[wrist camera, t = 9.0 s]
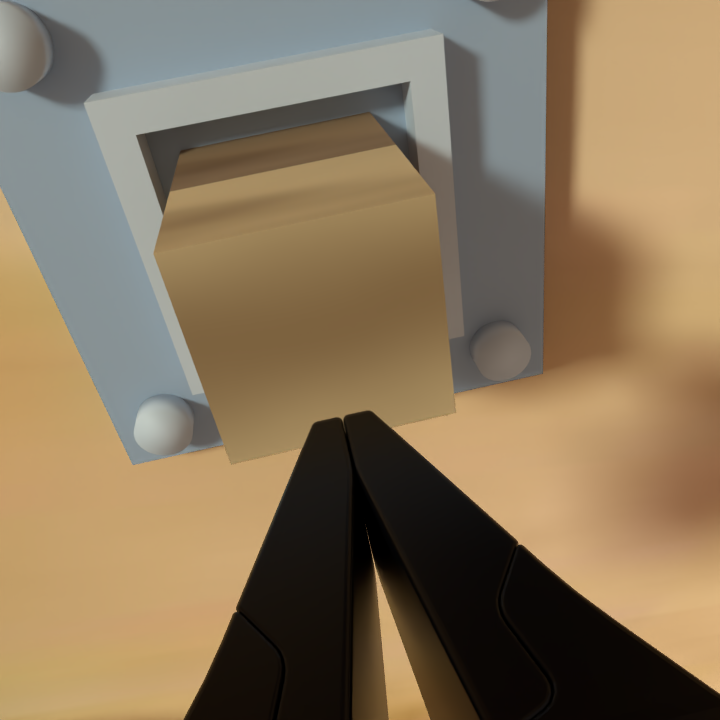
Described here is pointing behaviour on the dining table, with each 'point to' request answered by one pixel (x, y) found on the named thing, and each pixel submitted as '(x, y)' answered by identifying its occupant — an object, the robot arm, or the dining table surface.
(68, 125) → the board
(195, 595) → the dining table surface
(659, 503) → the dining table surface
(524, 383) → the dining table surface
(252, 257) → the block
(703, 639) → the dining table surface
